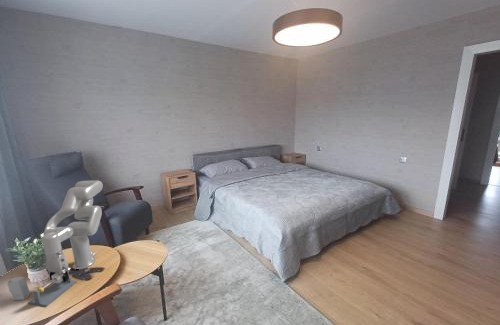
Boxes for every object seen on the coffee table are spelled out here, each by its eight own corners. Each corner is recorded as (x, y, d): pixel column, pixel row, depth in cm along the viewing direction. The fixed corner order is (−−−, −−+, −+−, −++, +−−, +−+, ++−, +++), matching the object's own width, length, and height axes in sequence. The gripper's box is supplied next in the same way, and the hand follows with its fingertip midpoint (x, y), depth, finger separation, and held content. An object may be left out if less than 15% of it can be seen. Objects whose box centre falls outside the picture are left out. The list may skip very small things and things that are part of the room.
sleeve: (61, 276, 137) (59, 270, 136) (67, 277, 136) (65, 270, 135) (52, 282, 132) (51, 275, 131) (59, 283, 131) (57, 276, 130)
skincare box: (30, 293, 130) (26, 275, 127) (23, 300, 125) (18, 281, 123) (19, 294, 129) (14, 276, 126) (12, 301, 125) (6, 282, 122)
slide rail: (60, 280, 140) (57, 268, 138) (76, 282, 138) (74, 270, 136) (28, 303, 123) (25, 290, 121) (46, 306, 121) (43, 293, 119)
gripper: (72, 251, 132) (78, 276, 136) (48, 248, 135) (54, 273, 139) (60, 259, 125) (66, 285, 129) (34, 256, 128) (41, 282, 131)
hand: (59, 279), depth 134 cm, fingers open, 8 cm apart
